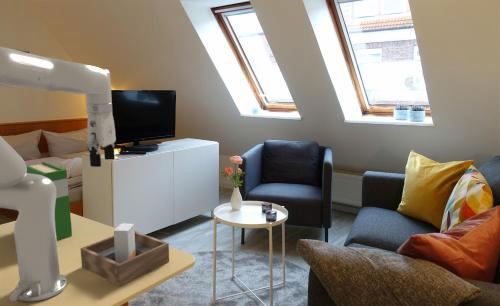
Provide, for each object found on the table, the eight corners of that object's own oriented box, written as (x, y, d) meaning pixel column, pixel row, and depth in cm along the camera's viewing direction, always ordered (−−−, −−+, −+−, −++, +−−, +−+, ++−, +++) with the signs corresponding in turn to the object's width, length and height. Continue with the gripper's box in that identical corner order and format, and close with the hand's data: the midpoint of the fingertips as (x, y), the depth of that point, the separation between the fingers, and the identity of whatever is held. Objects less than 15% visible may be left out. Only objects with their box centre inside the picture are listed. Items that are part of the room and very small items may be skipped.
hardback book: (29, 228, 149) (22, 164, 144) (50, 223, 155) (44, 161, 150) (50, 242, 138) (43, 173, 133) (72, 236, 143) (66, 169, 138)
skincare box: (129, 269, 120) (127, 231, 118) (115, 268, 121) (112, 230, 118) (136, 259, 126) (134, 223, 124) (123, 259, 127) (120, 222, 124)
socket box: (169, 261, 125) (168, 243, 124) (120, 286, 111) (118, 266, 110) (131, 246, 136) (130, 229, 134) (81, 267, 121) (80, 248, 120)
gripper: (98, 112, 118) (102, 169, 121) (122, 106, 135) (125, 157, 138) (73, 111, 119) (78, 169, 122) (100, 106, 135) (103, 156, 139)
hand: (103, 162), depth 130 cm, fingers open, 9 cm apart
